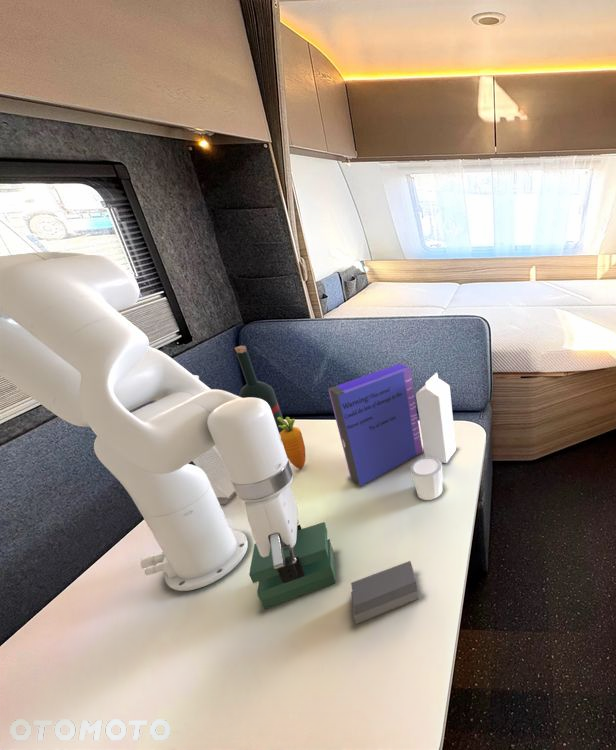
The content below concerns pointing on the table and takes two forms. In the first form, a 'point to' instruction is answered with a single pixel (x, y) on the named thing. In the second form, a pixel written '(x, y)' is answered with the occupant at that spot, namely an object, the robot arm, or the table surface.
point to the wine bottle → (257, 386)
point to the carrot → (292, 442)
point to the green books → (298, 582)
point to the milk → (436, 419)
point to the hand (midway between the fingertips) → (294, 560)
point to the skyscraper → (216, 473)
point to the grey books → (383, 592)
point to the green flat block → (307, 547)
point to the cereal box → (377, 422)
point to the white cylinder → (427, 477)
